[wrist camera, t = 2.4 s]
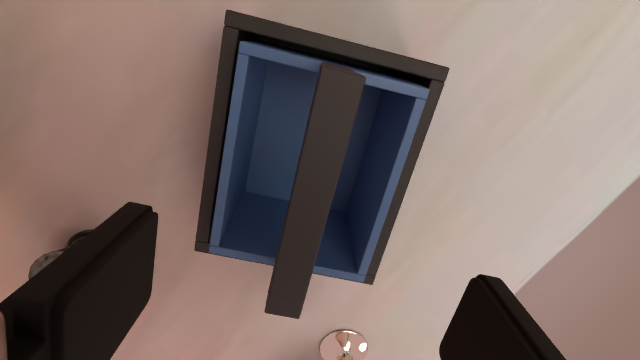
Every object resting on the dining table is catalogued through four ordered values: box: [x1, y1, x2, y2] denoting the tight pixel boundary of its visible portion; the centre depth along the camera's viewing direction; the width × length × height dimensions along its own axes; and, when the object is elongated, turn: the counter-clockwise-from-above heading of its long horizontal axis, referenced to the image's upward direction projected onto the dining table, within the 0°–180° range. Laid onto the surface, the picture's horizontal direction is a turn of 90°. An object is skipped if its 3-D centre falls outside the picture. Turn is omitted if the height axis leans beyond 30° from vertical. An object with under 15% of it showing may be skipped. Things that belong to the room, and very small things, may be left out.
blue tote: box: [209, 41, 430, 319], centre depth 19 cm, size 11×9×12 cm
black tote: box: [194, 10, 449, 285], centre depth 22 cm, size 13×11×7 cm
